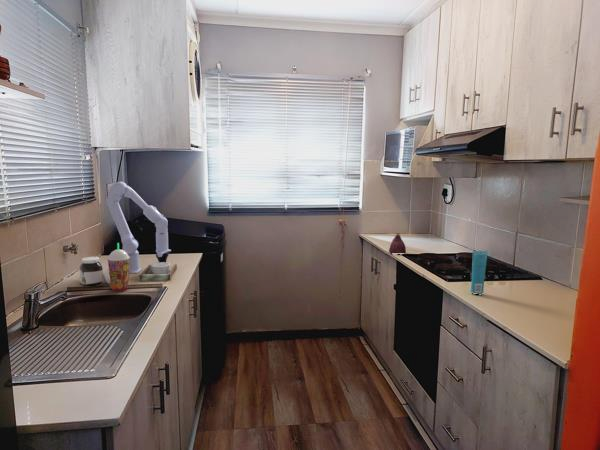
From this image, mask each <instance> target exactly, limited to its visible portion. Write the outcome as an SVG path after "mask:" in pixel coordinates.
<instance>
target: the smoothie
mask: <svg viewBox="0 0 600 450" xmlns="http://www.w3.org/2000/svg"><path fill="white" fill-rule="evenodd" d="M116 243H117V244H116V245H117V246H116V247H117V248H116V249H114V250H113V251H111V253H110V254H109V256H108V257H107V264H108V273H109V275H110V288H111V289H112V291H113V292H118V293H119V292H124V291H127V290H128V287H129V284H130V273H129V261H130V259H129V258H130V257H129V256H128V254H127V253H126V252H125V251H124V250H123V249H120V242H116Z"/></svg>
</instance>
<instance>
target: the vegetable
mask: <svg viewBox="0 0 600 450" xmlns="http://www.w3.org/2000/svg"><path fill="white" fill-rule="evenodd" d="M406 249H407V248H406V244H405V242H404V241H403V239H402V238H401V235H400V234H399V233H396V235H395V236H394V237H393V239H392V241H391V244H390V247H389V250H388V253H389V252H390V253H407V250H406Z"/></svg>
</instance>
